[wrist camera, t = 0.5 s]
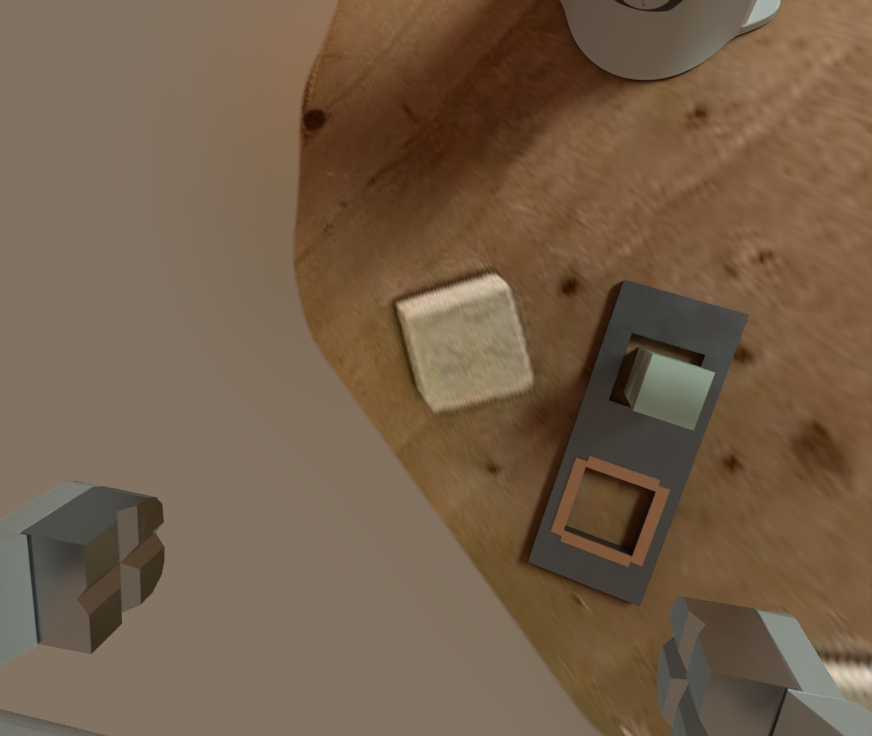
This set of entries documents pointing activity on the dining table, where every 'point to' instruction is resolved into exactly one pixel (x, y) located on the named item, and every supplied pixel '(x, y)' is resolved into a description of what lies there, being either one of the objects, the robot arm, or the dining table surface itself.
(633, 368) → the peg
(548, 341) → the dining table surface
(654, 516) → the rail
